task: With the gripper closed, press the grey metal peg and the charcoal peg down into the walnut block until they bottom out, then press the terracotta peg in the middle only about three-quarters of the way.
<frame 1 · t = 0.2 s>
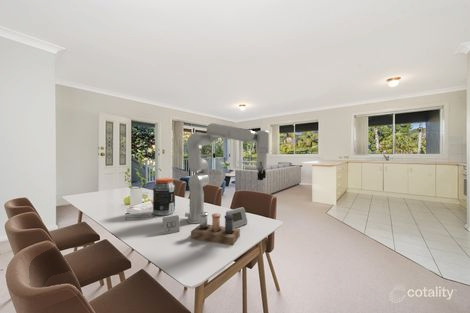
hand: (261, 178, 119), 31 cm above the table, fingers open, 9 cm apart
charcoal peg: (228, 224, 104), point 8 cm above the table, slide at 0.0 cm
digital clock: (236, 226, 124), on the table
walnut block: (215, 237, 107), on the table
grey peg: (203, 221, 109), point 8 cm above the table, slide at 0.0 cm
supplement tub: (164, 213, 148), on the table
electrical switch: (170, 232, 113), on the table
terracotta peg: (216, 222, 107), point 8 cm above the table, slide at 0.0 cm
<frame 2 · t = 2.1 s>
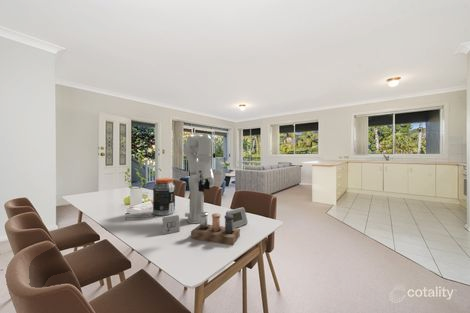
hand: (204, 190, 109), 26 cm above the table, fingers open, 6 cm apart
nothing on the table moved.
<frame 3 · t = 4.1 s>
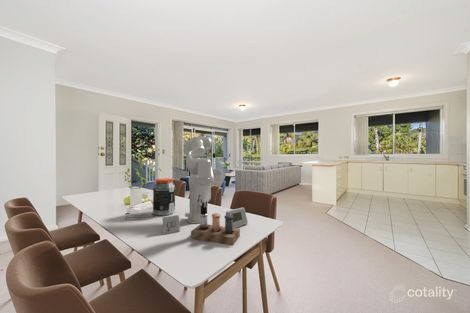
hand: (203, 213, 109), 12 cm above the table, fingers closed
grey peg: (203, 221, 109), point 8 cm above the table, slide at 0.4 cm, touching gripper
everything else where it was.
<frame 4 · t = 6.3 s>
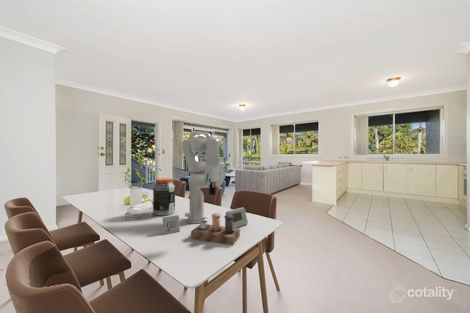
hand: (212, 194, 107), 24 cm above the table, fingers closed
grey peg: (203, 227, 109), point 5 cm above the table, slide at 3.3 cm
everything else where it was.
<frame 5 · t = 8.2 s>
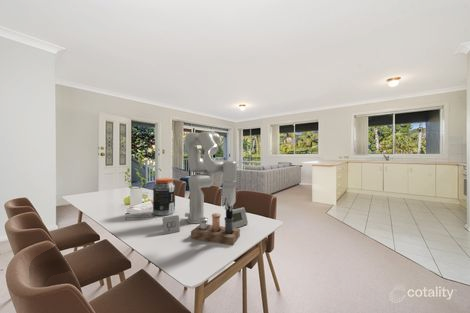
hand: (229, 218, 104), 12 cm above the table, fingers closed
charcoal peg: (228, 226, 104), point 7 cm above the table, slide at 1.0 cm, touching gripper
everything else where it was.
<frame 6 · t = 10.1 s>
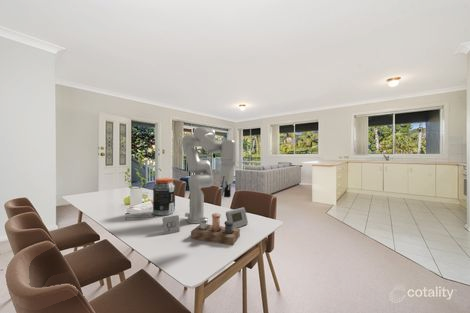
hand: (227, 196, 105), 23 cm above the table, fingers closed
charcoal peg: (228, 230, 104), point 5 cm above the table, slide at 3.3 cm
everything else where it was.
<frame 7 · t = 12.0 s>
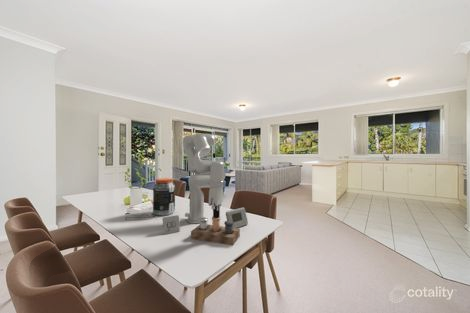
hand: (216, 217, 106), 11 cm above the table, fingers closed
terracotta peg: (216, 225, 107), point 7 cm above the table, slide at 1.5 cm, touching gripper
everything else where it was.
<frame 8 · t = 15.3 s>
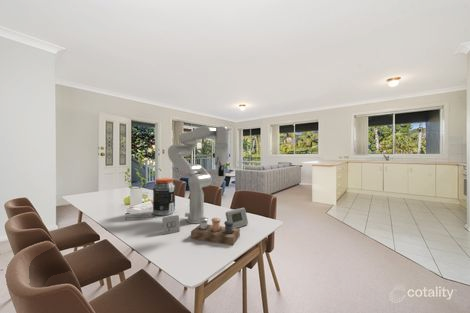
hand: (221, 176, 121), 32 cm above the table, fingers closed
terracotta peg: (215, 227, 107), point 5 cm above the table, slide at 2.5 cm
at the end: grey peg slide at 3.3 cm; charcoal peg slide at 3.3 cm; terracotta peg slide at 2.5 cm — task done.
